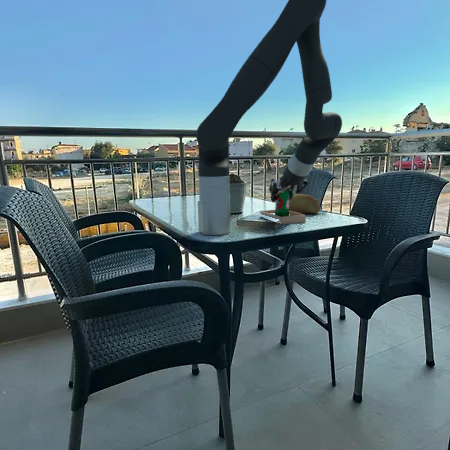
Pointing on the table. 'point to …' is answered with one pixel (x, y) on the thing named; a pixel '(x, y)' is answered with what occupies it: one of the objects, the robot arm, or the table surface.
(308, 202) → the bread roll
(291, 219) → the tray
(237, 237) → the table surface
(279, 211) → the soda can
